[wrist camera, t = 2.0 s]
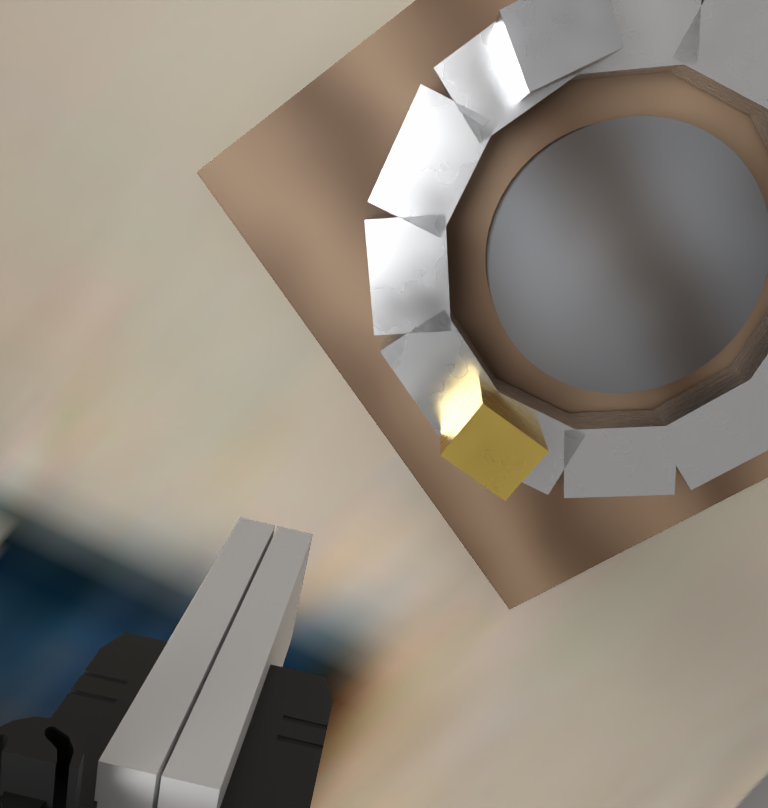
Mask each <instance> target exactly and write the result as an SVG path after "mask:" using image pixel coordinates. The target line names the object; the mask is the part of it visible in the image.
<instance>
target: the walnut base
mask: <svg viewBox="0 0 768 808" xmlns="http://www.w3.org/2000/svg"><path fill="white" fill-rule="evenodd" d="M516 1H518V0H416V1H414V2H413V3H412V4H411V5H409V6H408V7H407V8H405V9H404V10H403V11H402V12H400V13H399V14H398V15H397V16H395V17H394V18H393V19H391V20H390V21H389V22H388V23H386V24H385V25H384V26H382V27H381V28H380V29H379V30H377V31H376V32H375V33H374V34H372V35H371V36H370V37H368V38H367V39H366V40H365V41H363V42H362V43H361V44H360V45H358V46H357V47H356V48H354V49H353V50H352V51H351V52H349V53H348V54H347V55H345V56H344V57H343V58H342V59H340V60H339V61H338V62H337V63H335V64H334V65H333V66H331V67H330V68H329V69H328V70H326V71H325V72H324V73H323V74H321V75H320V76H319V77H317V78H316V79H315V80H314V81H312V82H311V83H310V84H309V85H307V86H306V87H305V88H303V89H302V90H301V91H300V92H298V93H297V94H296V95H294V96H293V97H292V98H291V99H289V100H288V101H287V102H286V103H284V104H283V105H282V106H280V107H279V108H278V109H277V110H275V111H274V112H273V113H272V114H270V115H269V116H268V117H266V118H265V119H264V120H263V121H261V122H260V123H259V124H257V125H256V126H255V127H254V128H252V129H251V130H250V131H249V132H247V133H246V134H245V135H243V136H242V137H241V138H240V139H238V140H237V141H236V142H235V143H233V144H232V145H231V146H229V147H228V148H227V149H226V150H224V151H223V152H222V153H220V154H219V155H218V156H217V157H215V158H214V159H213V160H212V161H210V162H209V163H208V164H206V165H205V166H204V167H203V168H201V169H200V170H199V171H198V172H197V174H198V175H199V176H200V178H201V179H202V181H203V182H204V183H205V185H206V186H207V188H208V189H209V190H210V192H211V193H212V195H213V196H214V197H215V199H216V200H217V202H218V203H219V204H220V206H221V207H222V209H223V210H224V211H225V213H226V214H227V216H228V217H229V218H230V220H231V221H232V223H233V224H234V225H235V227H236V228H237V230H238V231H239V232H240V234H241V235H242V237H243V238H244V239H245V241H246V242H247V243H248V245H249V246H250V248H251V249H252V250H253V252H254V253H255V255H256V256H257V257H258V259H259V260H260V262H261V263H262V264H263V266H264V267H265V269H266V270H267V271H268V273H269V274H270V276H271V277H272V278H273V280H274V281H275V283H276V284H277V285H278V287H279V288H280V290H281V291H282V292H283V294H284V295H285V297H286V298H287V299H288V301H289V302H290V304H291V305H292V306H293V308H294V309H295V311H296V312H297V313H298V315H299V316H300V318H301V319H302V320H303V322H304V323H305V325H306V326H307V327H308V329H309V330H310V331H311V333H312V334H313V336H314V337H315V338H316V340H317V341H318V343H319V344H320V345H321V347H322V348H323V350H324V351H325V352H326V354H327V355H328V357H329V358H330V359H331V361H332V362H333V364H334V365H335V366H336V368H337V369H338V371H339V372H340V373H341V375H342V376H343V378H344V379H345V380H346V382H347V383H348V385H349V386H350V387H351V389H352V390H353V392H354V393H355V394H356V396H357V397H358V399H359V400H360V401H361V403H362V404H363V406H364V407H365V408H366V410H367V411H368V413H369V414H370V415H371V417H372V418H373V420H374V421H375V422H376V424H377V425H378V426H379V428H380V429H381V431H382V432H383V433H384V435H385V436H386V438H387V439H388V440H389V442H390V443H391V445H392V446H393V447H394V449H395V450H396V452H397V453H398V454H399V456H400V457H401V459H402V460H403V461H404V463H405V464H406V466H407V467H408V468H409V470H410V471H411V473H412V474H413V475H414V477H415V478H416V480H417V481H418V482H419V484H420V485H421V487H422V488H423V489H424V491H425V492H426V494H427V495H428V496H429V498H430V499H431V501H432V502H433V503H434V505H435V506H436V508H437V509H438V510H439V512H440V513H441V514H442V516H443V517H444V519H445V520H446V521H447V523H448V524H449V526H450V527H451V528H452V530H453V531H454V533H455V534H456V535H457V537H458V538H459V540H460V541H461V542H462V544H463V545H464V547H465V548H466V549H467V551H468V552H469V554H470V555H471V556H472V558H473V559H474V561H475V562H476V563H477V565H478V566H479V568H480V569H481V570H482V572H483V573H484V575H485V576H486V577H487V579H488V580H489V582H490V583H491V584H492V586H493V587H494V589H495V590H496V591H497V593H498V594H499V596H500V597H501V598H502V600H503V601H504V603H505V604H506V605H507V607H508V608H509V609H511V608H513V607H515V606H517V605H519V604H521V603H523V602H525V601H527V600H529V599H531V598H533V597H535V596H537V595H539V594H541V593H543V592H545V591H547V590H548V589H550V588H552V587H554V586H556V585H558V584H560V583H562V582H564V581H566V580H568V579H570V578H572V577H574V576H576V575H578V574H580V573H582V572H584V571H586V570H587V569H589V568H591V567H593V566H595V565H597V564H599V563H601V562H603V561H605V560H607V559H609V558H611V557H613V556H615V555H617V554H619V553H621V552H623V551H625V550H626V549H628V548H630V547H632V546H634V545H636V544H638V543H640V542H642V541H644V540H646V539H648V538H650V537H652V536H654V535H656V534H658V533H660V532H662V531H664V530H666V529H667V528H669V527H671V526H673V525H675V524H677V523H679V522H681V521H683V520H685V519H687V518H689V517H691V516H693V515H695V514H697V513H699V512H701V511H703V510H705V509H706V508H708V507H710V506H712V505H714V504H716V503H718V502H720V501H722V500H724V499H726V498H728V497H730V496H732V495H734V494H736V493H738V492H740V491H742V490H744V489H745V488H747V487H749V486H751V485H753V484H755V483H757V482H759V481H761V480H763V479H765V478H767V477H768V450H767V451H765V452H763V453H762V454H760V455H758V456H756V457H754V458H752V459H750V460H748V461H746V462H744V463H742V464H740V465H739V466H737V467H735V468H733V469H731V470H729V471H727V472H725V473H723V474H721V475H719V476H717V477H716V478H714V479H712V480H710V481H708V482H706V483H704V484H702V485H700V486H698V487H696V488H694V489H693V490H691V489H690V488H689V487H688V485H687V484H686V482H685V481H684V480H683V478H682V477H681V476H680V474H679V473H678V472H677V470H676V477H675V495H647V496H616V497H586V498H564V497H563V494H562V491H561V488H560V485H559V482H558V480H557V482H556V483H555V485H554V486H553V488H552V490H551V491H550V493H549V494H548V495H547V494H545V493H543V492H541V491H539V490H537V489H535V488H533V487H531V486H529V485H526V484H524V483H522V482H521V483H520V485H519V486H518V487H517V488H516V489H515V490H514V491H513V493H512V494H511V495H510V496H509V497H508V498H507V499H506V500H505V501H504V500H503V499H502V498H500V497H499V496H497V495H496V494H495V493H493V492H492V491H490V490H489V489H487V488H486V487H485V486H483V485H482V484H480V483H479V482H478V481H476V480H475V479H473V478H472V477H470V476H469V475H468V474H466V473H465V472H463V471H462V470H460V469H459V468H458V467H456V466H455V465H453V464H452V463H451V462H449V461H448V460H446V459H445V458H443V457H442V456H441V455H440V443H441V439H440V437H439V436H438V434H437V433H436V431H435V430H434V428H433V427H432V426H431V424H430V423H429V421H428V420H427V418H426V417H425V416H424V414H423V413H422V411H421V410H420V408H419V407H418V405H417V404H416V403H415V401H414V400H413V398H412V397H411V395H410V394H409V392H408V391H407V390H406V388H405V387H404V385H403V384H402V382H401V381H400V380H399V378H398V377H397V375H396V374H395V372H394V371H393V369H392V368H391V367H390V365H389V364H388V362H387V361H386V359H385V358H384V357H383V355H382V354H381V352H380V349H381V346H382V344H383V341H384V339H385V338H387V337H388V336H390V335H391V334H390V335H374V328H373V316H372V304H371V292H370V281H369V269H368V257H367V245H366V233H365V221H364V220H365V219H366V218H368V217H369V216H378V215H391V213H389V212H387V211H385V210H383V209H381V208H379V207H377V206H375V205H373V204H371V203H369V202H368V200H369V197H370V195H371V193H372V191H373V188H374V186H375V184H376V182H377V180H378V177H379V175H380V173H381V171H382V169H383V166H384V164H385V162H386V160H387V158H388V155H389V153H390V151H391V149H392V146H393V144H394V142H395V140H396V138H397V135H398V133H399V131H400V129H401V127H402V124H403V122H404V120H405V118H406V115H407V113H408V111H409V109H410V107H411V104H412V102H413V100H414V98H415V96H416V93H417V91H418V89H419V87H420V85H421V84H422V85H424V86H426V87H428V88H430V89H432V90H434V91H436V92H438V93H439V94H441V95H443V96H445V97H447V98H449V97H448V96H447V94H446V92H445V91H444V89H443V88H442V86H441V84H440V83H439V81H438V79H437V78H436V76H435V74H434V67H435V66H437V65H438V64H439V63H441V62H442V61H443V60H445V59H446V58H447V57H449V56H450V55H451V54H453V53H454V52H455V51H457V50H458V49H459V48H461V47H462V46H463V45H465V44H466V43H467V42H469V41H470V40H471V39H473V38H474V37H475V36H477V35H478V34H479V33H481V32H482V31H483V30H485V29H486V28H487V27H489V26H490V25H491V24H493V23H494V22H495V21H496V19H497V16H498V13H499V10H501V9H503V8H505V7H507V6H508V5H510V4H512V3H514V2H516ZM446 233H447V253H448V274H449V294H450V310H451V311H452V313H453V314H454V316H455V317H456V319H457V320H458V322H459V323H460V325H461V326H462V328H463V329H464V331H465V332H466V334H467V336H468V337H469V339H470V340H471V342H472V343H473V345H474V346H475V348H476V349H477V351H478V352H479V354H480V355H481V357H482V358H483V360H484V361H485V363H486V364H487V366H488V367H489V369H490V370H491V372H492V374H493V375H494V377H495V378H497V379H499V380H501V381H503V382H505V383H507V384H509V385H512V386H514V387H516V388H518V389H520V390H522V391H524V392H526V393H528V394H530V395H532V396H534V397H536V398H538V399H540V400H542V401H544V402H546V403H548V404H550V405H552V406H554V407H556V408H558V409H561V410H563V411H565V412H567V413H582V412H604V411H627V410H649V409H654V408H656V407H658V406H659V405H661V404H663V403H665V402H666V401H668V400H670V399H672V398H674V397H675V396H677V395H679V394H681V393H683V392H684V391H686V390H688V389H690V388H691V387H693V386H695V385H697V384H699V383H700V382H702V381H704V380H706V379H708V378H709V377H711V376H713V375H715V374H716V373H718V372H720V371H722V370H724V369H725V368H727V367H729V366H731V364H732V363H733V361H734V360H735V358H736V357H737V355H738V354H739V352H740V351H741V349H742V348H743V347H744V345H745V344H746V342H747V341H748V339H749V338H750V336H751V335H752V333H753V332H754V330H755V329H756V327H757V326H758V325H759V323H760V322H761V320H762V319H763V317H764V316H765V314H766V313H767V311H768V150H767V148H766V146H765V144H764V143H763V141H762V139H761V137H760V135H759V133H758V131H757V129H756V127H755V125H754V123H753V121H752V119H751V117H750V115H748V114H746V113H744V112H742V111H740V110H738V109H736V108H735V107H733V106H731V105H729V104H727V103H725V102H723V101H721V100H720V99H718V98H716V97H714V96H712V95H710V94H708V93H706V92H704V91H703V90H701V89H699V88H697V87H695V86H693V85H691V84H689V83H688V82H686V81H684V80H682V79H680V78H678V77H676V76H674V75H672V74H671V73H669V72H667V71H666V72H656V73H645V74H634V75H623V76H612V77H601V78H590V79H579V80H569V81H568V82H566V83H565V84H564V85H562V86H561V87H559V88H558V89H557V90H555V91H554V92H552V93H551V94H549V95H548V96H547V97H545V98H544V99H542V100H541V101H540V102H538V103H537V104H535V105H534V106H532V107H531V108H530V109H528V110H527V111H525V112H524V113H523V114H521V115H520V116H518V117H517V118H515V119H514V120H513V121H511V122H510V123H508V124H507V125H506V126H504V127H503V128H501V129H500V130H498V131H497V132H496V133H494V134H493V135H491V137H490V139H489V141H488V143H487V145H486V147H485V149H484V151H483V153H482V155H481V157H480V159H479V161H478V163H477V165H476V167H475V169H474V171H473V173H472V175H471V177H470V179H469V181H468V183H467V185H466V187H465V189H464V191H463V193H462V195H461V197H460V199H459V201H458V203H457V205H456V207H455V209H454V211H453V213H452V215H451V217H450V219H449V221H448V223H447V225H446Z"/></svg>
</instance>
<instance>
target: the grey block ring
mask: <svg viewBox="0 0 768 808" xmlns="http://www.w3.org/2000/svg"><path fill="white" fill-rule="evenodd" d="M666 71H667V72H669V73H671V74H672V75H674V76H676V77H678V78H680V79H682V80H684V81H686V82H688V83H689V84H691V85H693V86H695V87H697V88H699V89H701V90H703V91H704V92H706V93H708V94H710V95H712V96H714V97H716V98H718V99H720V100H721V101H723V102H725V103H727V104H729V105H731V106H733V107H735V108H736V109H738V110H740V111H742V112H744V113H746V114H748V115H750V117H751V119H752V121H753V123H754V125H755V127H756V129H757V131H758V133H759V135H760V137H761V139H762V141H763V143H764V144H765V146H766V148H767V150H768V0H518V1H516V2H514V3H512V4H510V5H508V6H507V7H505V8H503V9H501V10H499V13H498V16H497V19H496V21H495V22H494V23H493V24H491V25H490V26H489V27H487V28H486V29H485V30H483V31H482V32H481V33H479V34H478V35H477V36H475V37H474V38H473V39H471V40H470V41H469V42H467V43H466V44H465V45H463V46H462V47H461V48H459V49H458V50H457V51H455V52H454V53H453V54H451V55H450V56H449V57H447V58H446V59H445V60H443V61H442V62H441V63H439V64H438V65H437V66H435V67H434V74H435V76H436V78H437V79H438V81H439V83H440V84H441V86H442V88H443V89H444V91H445V92H446V94H447V96H448V97H449V98H447V97H445V96H443V95H441V94H439V93H438V92H436V91H434V90H432V89H430V88H428V87H426V86H424V85H422V84H421V85H420V87H419V89H418V91H417V93H416V96H415V98H414V100H413V102H412V104H411V107H410V109H409V111H408V113H407V115H406V118H405V120H404V122H403V124H402V127H401V129H400V131H399V133H398V135H397V138H396V140H395V142H394V144H393V146H392V149H391V151H390V153H389V155H388V158H387V160H386V162H385V164H384V166H383V169H382V171H381V173H380V175H379V177H378V180H377V182H376V184H375V186H374V188H373V191H372V193H371V195H370V197H369V200H368V202H369V203H371V204H373V205H375V206H377V207H379V208H381V209H383V210H385V211H387V212H389V213H391V215H378V216H369V217H368V218H366V219H365V220H364V221H365V233H366V245H367V257H368V269H369V281H370V292H371V304H372V316H373V328H374V335H390V334H391V335H390V336H388V337H387V338H385V339H384V341H383V344H382V346H381V349H380V352H381V354H382V355H383V357H384V358H385V359H386V361H387V362H388V364H389V365H390V367H391V368H392V369H393V371H394V372H395V374H396V375H397V377H398V378H399V380H400V381H401V382H402V384H403V385H404V387H405V388H406V390H407V391H408V392H409V394H410V395H411V397H412V398H413V400H414V401H415V403H416V404H417V405H418V407H419V408H420V410H421V411H422V413H423V414H424V416H425V417H426V418H427V420H428V421H429V423H430V424H431V426H432V427H433V428H434V430H435V431H436V433H437V434H438V436H439V437H440V439H441V443H440V455H441V456H442V457H443V458H445V459H446V460H448V461H449V462H451V463H452V464H453V465H455V466H456V467H458V468H459V469H460V470H462V471H463V472H465V473H466V474H468V475H469V476H470V477H472V478H473V479H475V480H476V481H478V482H479V483H480V484H482V485H483V486H485V487H486V488H487V489H489V490H490V491H492V492H493V493H495V494H496V495H497V496H499V497H500V498H502V499H503V500H504V501H505V500H506V499H507V498H508V497H509V496H510V495H511V494H512V493H513V491H514V490H515V489H516V488H517V487H518V486H519V485H520V483H521V482H522V483H524V484H526V485H529V486H531V487H533V488H535V489H537V490H539V491H541V492H543V493H545V494H547V495H548V494H549V493H550V491H551V490H552V488H553V486H554V485H555V483H556V482H557V480H558V482H559V485H560V488H561V491H562V494H563V497H564V498H586V497H616V496H647V495H675V477H676V470H677V472H678V473H679V474H680V476H681V477H682V478H683V480H684V481H685V482H686V484H687V485H688V487H689V488H690V489H691V490H693V489H694V488H696V487H698V486H700V485H702V484H704V483H706V482H708V481H710V480H712V479H714V478H716V477H717V476H719V475H721V474H723V473H725V472H727V471H729V470H731V469H733V468H735V467H737V466H739V465H740V464H742V463H744V462H746V461H748V460H750V459H752V458H754V457H756V456H758V455H760V454H762V453H763V452H765V451H767V450H768V311H767V313H766V314H765V316H764V317H763V319H762V320H761V322H760V323H759V325H758V326H757V327H756V329H755V330H754V332H753V333H752V335H751V336H750V338H749V339H748V341H747V342H746V344H745V345H744V347H743V348H742V349H741V351H740V352H739V354H738V355H737V357H736V358H735V360H734V361H733V363H732V364H731V366H729V367H727V368H725V369H724V370H722V371H720V372H718V373H716V374H715V375H713V376H711V377H709V378H708V379H706V380H704V381H702V382H700V383H699V384H697V385H695V386H693V387H691V388H690V389H688V390H686V391H684V392H683V393H681V394H679V395H677V396H675V397H674V398H672V399H670V400H668V401H666V402H665V403H663V404H661V405H659V406H658V407H656V408H654V409H649V410H627V411H604V412H582V413H567V412H565V411H563V410H561V409H558V408H556V407H554V406H552V405H550V404H548V403H546V402H544V401H542V400H540V399H538V398H536V397H534V396H532V395H530V394H528V393H526V392H524V391H522V390H520V389H518V388H516V387H514V386H512V385H509V384H507V383H505V382H503V381H501V380H499V379H497V378H495V377H494V375H493V374H492V372H491V370H490V369H489V367H488V366H487V364H486V363H485V361H484V360H483V358H482V357H481V355H480V354H479V352H478V351H477V349H476V348H475V346H474V345H473V343H472V342H471V340H470V339H469V337H468V336H467V334H466V332H465V331H464V329H463V328H462V326H461V325H460V323H459V322H458V320H457V319H456V317H455V316H454V314H453V313H452V311H451V310H450V294H449V274H448V253H447V233H446V225H447V223H448V221H449V219H450V217H451V215H452V213H453V211H454V209H455V207H456V205H457V203H458V201H459V199H460V197H461V195H462V193H463V191H464V189H465V187H466V185H467V183H468V181H469V179H470V177H471V175H472V173H473V171H474V169H475V167H476V165H477V163H478V161H479V159H480V157H481V155H482V153H483V151H484V149H485V147H486V145H487V143H488V141H489V139H490V137H491V135H493V134H494V133H496V132H497V131H498V130H500V129H501V128H503V127H504V126H506V125H507V124H508V123H510V122H511V121H513V120H514V119H515V118H517V117H518V116H520V115H521V114H523V113H524V112H525V111H527V110H528V109H530V108H531V107H532V106H534V105H535V104H537V103H538V102H540V101H541V100H542V99H544V98H545V97H547V96H548V95H549V94H551V93H552V92H554V91H555V90H557V89H558V88H559V87H561V86H562V85H564V84H565V83H566V82H568V81H569V80H579V79H590V78H601V77H612V76H623V75H634V74H645V73H656V72H666Z"/></svg>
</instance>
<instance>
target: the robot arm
mask: <svg viewBox="0 0 768 808" xmlns="http://www.w3.org/2000/svg"><path fill="white" fill-rule="evenodd" d="M274 528H275V525H271V524H267V523H262V522H258V521H254V520H249V519H245V518H241V517H240V519H239V521H238V522H237V524H236V526H235V528H234V529H233V531H232V533H231V534H230V536H229V538H228V540H227V541H226V543H225V545H224V546H223V548H222V550H221V552H220V553H219V555H218V557H217V558H216V560H215V562H214V564H213V565H212V567H211V569H210V570H209V572H208V574H207V575H206V577H205V579H204V581H203V582H202V584H201V586H200V587H199V589H198V591H197V593H196V594H195V596H194V598H193V599H192V601H191V603H190V605H189V606H188V608H187V610H186V611H185V613H184V615H183V617H182V618H181V620H180V622H179V623H178V625H177V627H176V629H175V630H174V632H173V634H172V635H171V637H170V639H169V641H168V642H165V641H161V640H156V639H152V638H148V637H144V636H139V635H135V634H131V633H127V632H125V633H124V634H122V635H121V636H119V637H117V638H116V639H114V640H113V641H111V642H110V643H108V644H107V645H105V646H104V647H102V648H101V649H100V650H99V651H98V653H97V654H96V656H95V657H94V658H93V660H92V661H91V663H90V664H89V665H88V667H87V668H86V670H85V672H84V674H83V675H81V677H80V678H79V679H78V681H77V682H76V684H75V685H74V686H73V688H72V691H71V693H68V695H67V696H66V698H65V699H64V700H63V702H62V703H61V705H60V706H59V707H58V709H57V710H56V712H55V713H54V714H53V716H52V717H51V718H46V717H30V718H25V719H20V720H15V721H11V722H9V723H7V724H5V725H3V726H1V727H0V808H310V805H311V800H312V796H313V791H314V786H315V782H316V777H317V772H318V768H319V763H320V758H321V754H322V749H323V744H324V739H325V735H326V730H327V725H328V721H329V716H330V711H331V707H332V702H333V700H332V697H331V694H330V690H329V687H328V683H327V680H326V677H322V676H318V675H314V674H310V673H305V672H301V671H297V670H293V669H288V668H284V667H282V666H283V663H284V660H285V657H286V654H287V651H288V647H289V644H290V641H291V638H292V633H293V628H294V624H295V619H296V614H297V609H298V604H299V599H300V594H301V589H302V584H303V579H304V574H305V570H306V565H307V560H308V555H309V550H310V545H311V540H312V535H313V534H310V533H305V532H301V531H297V530H292V529H288V528H284V527H279V526H278V527H277V529H276V532H275V534H274ZM273 534H274V536H273Z"/></svg>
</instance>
